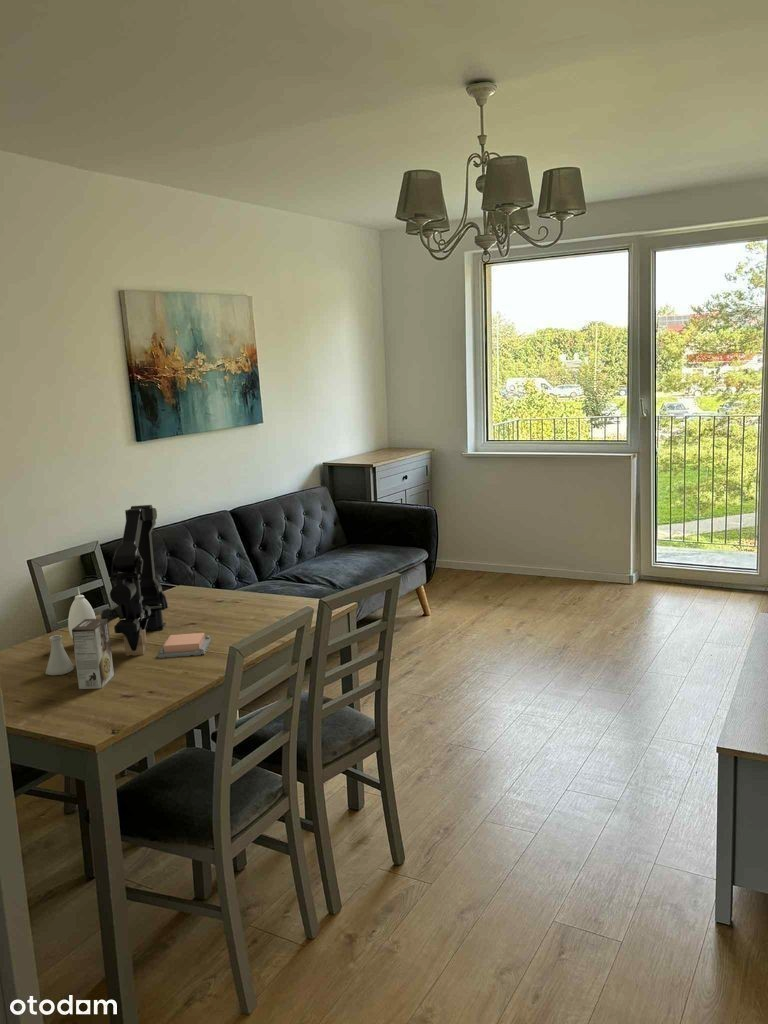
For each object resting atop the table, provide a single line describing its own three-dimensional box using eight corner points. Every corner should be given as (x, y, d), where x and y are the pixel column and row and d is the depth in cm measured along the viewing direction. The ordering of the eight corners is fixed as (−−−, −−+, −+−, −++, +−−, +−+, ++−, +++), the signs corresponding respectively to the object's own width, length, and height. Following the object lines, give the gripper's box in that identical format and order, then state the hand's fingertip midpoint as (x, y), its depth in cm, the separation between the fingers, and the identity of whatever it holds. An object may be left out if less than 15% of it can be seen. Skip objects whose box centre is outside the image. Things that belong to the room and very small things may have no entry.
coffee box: (91, 676, 219) (84, 618, 217) (115, 675, 219) (108, 617, 216) (77, 689, 210) (70, 629, 208) (102, 688, 210) (95, 628, 207)
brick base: (167, 643, 244) (166, 633, 244) (211, 640, 245) (210, 630, 244) (158, 658, 231) (157, 647, 231) (204, 654, 232) (203, 644, 232)
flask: (64, 676, 220) (59, 641, 219) (40, 676, 222) (35, 640, 220) (79, 667, 227) (75, 632, 226) (56, 666, 229) (51, 632, 227)
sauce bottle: (87, 649, 242) (80, 590, 240) (65, 648, 245) (58, 590, 242) (104, 641, 250) (97, 584, 247) (83, 640, 252) (76, 583, 249)
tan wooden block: (130, 650, 240) (127, 630, 239) (147, 649, 240) (145, 629, 239) (125, 656, 235) (123, 635, 234) (143, 654, 235) (141, 634, 234)
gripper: (110, 589, 243) (116, 639, 246) (92, 606, 225) (99, 660, 228) (148, 586, 244) (153, 636, 247) (133, 603, 226) (139, 657, 228)
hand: (136, 647), depth 237 cm, fingers closed on tan wooden block, 5 cm apart
